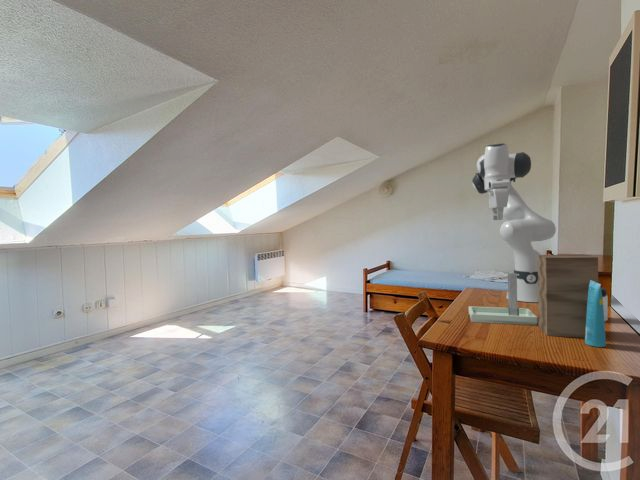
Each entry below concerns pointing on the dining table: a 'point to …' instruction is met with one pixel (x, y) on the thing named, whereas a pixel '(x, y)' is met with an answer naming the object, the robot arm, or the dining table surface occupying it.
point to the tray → (501, 316)
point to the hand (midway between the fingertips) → (497, 219)
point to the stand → (564, 293)
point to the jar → (605, 303)
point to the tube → (595, 317)
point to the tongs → (512, 294)
